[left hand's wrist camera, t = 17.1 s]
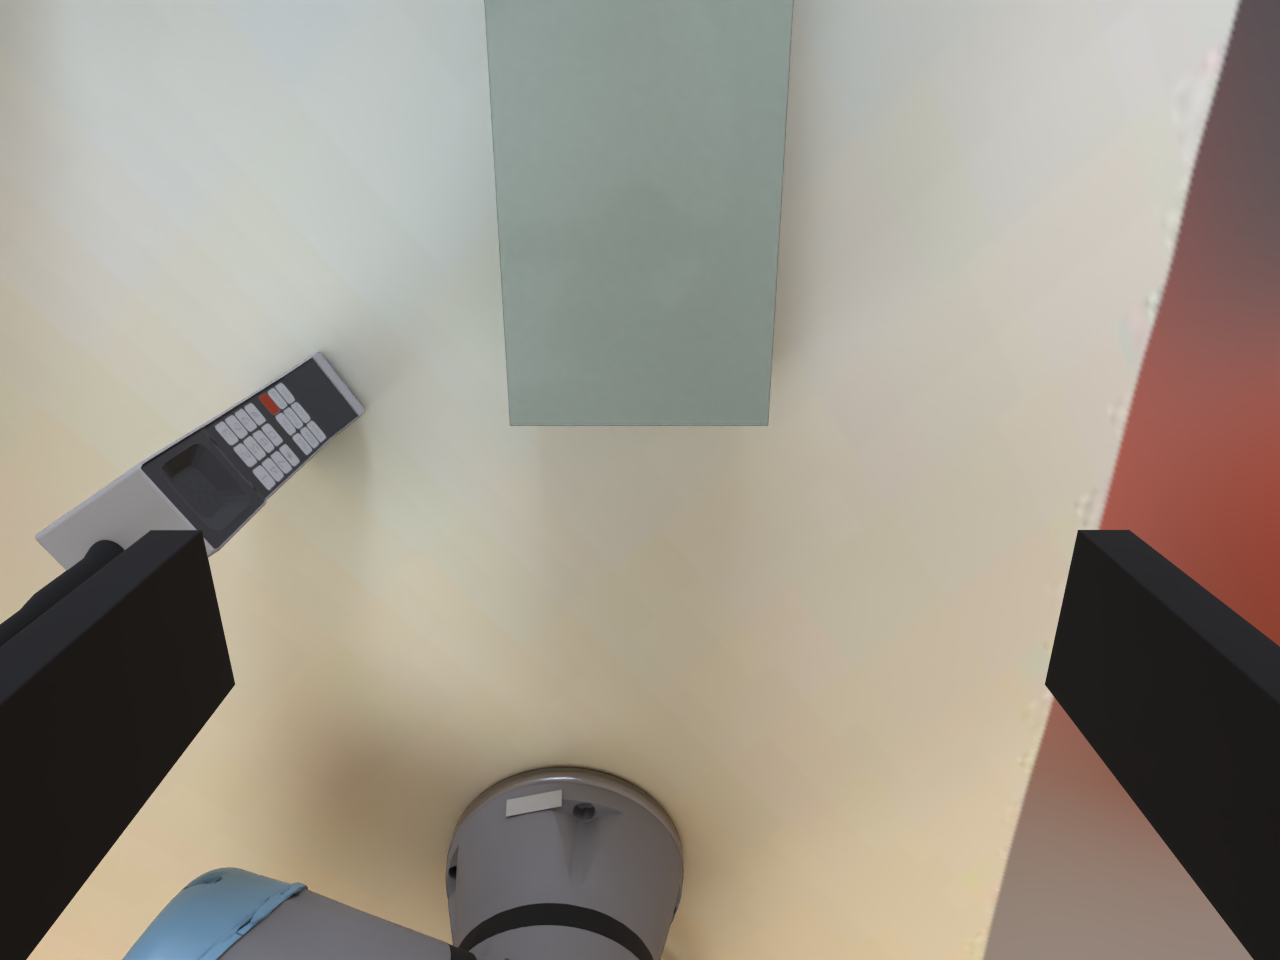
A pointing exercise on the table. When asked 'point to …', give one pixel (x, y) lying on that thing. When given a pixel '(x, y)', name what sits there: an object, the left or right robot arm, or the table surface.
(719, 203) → the sage green rectangular box
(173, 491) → the vintage mobile phone
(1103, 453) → the table surface
